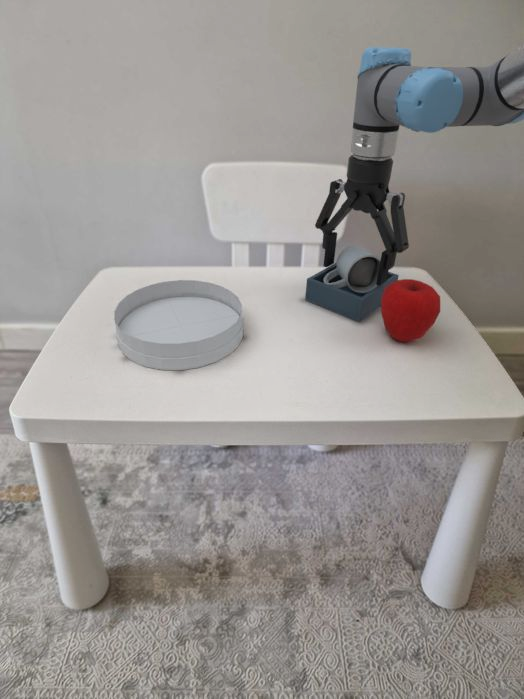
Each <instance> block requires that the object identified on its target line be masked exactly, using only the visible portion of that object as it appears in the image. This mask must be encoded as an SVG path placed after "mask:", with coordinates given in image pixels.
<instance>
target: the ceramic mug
mask: <svg viewBox="0 0 524 699" xmlns="http://www.w3.org/2000/svg"><path fill="white" fill-rule="evenodd" d="M380 261H381V258H380V257H378V256H377V255H375V254H374V253H372V252H370V250H368V249H366V248H364V247H362V246H357V245H353V246H348V247H347V248H345V249H343V250H342V251H341V252H340V253H339V254H338V256H337V258H336V262H337V263H336V262H335V263H336V267H337V268H336V269H335V270H333V271H331V272H329V273H328V274H327V275H326V276H325V277H324V280H323V281H324V283H325V284H328V285H330V286H333V287H336V288H338V289H340V288H343V287H345V286H348V287H349V288H350V289H351V290H352V291H354V292H356V293H367V292H370V291H371V290H373V289H374V288H376V287H377V286H378V285H376V283H377V277H378V272H379V266H380ZM338 275H340V277H341V278H342V280H340V281H337V282H334V283H329V281H330V280H331V279H332V278H334V277H336V276H338Z"/></svg>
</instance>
